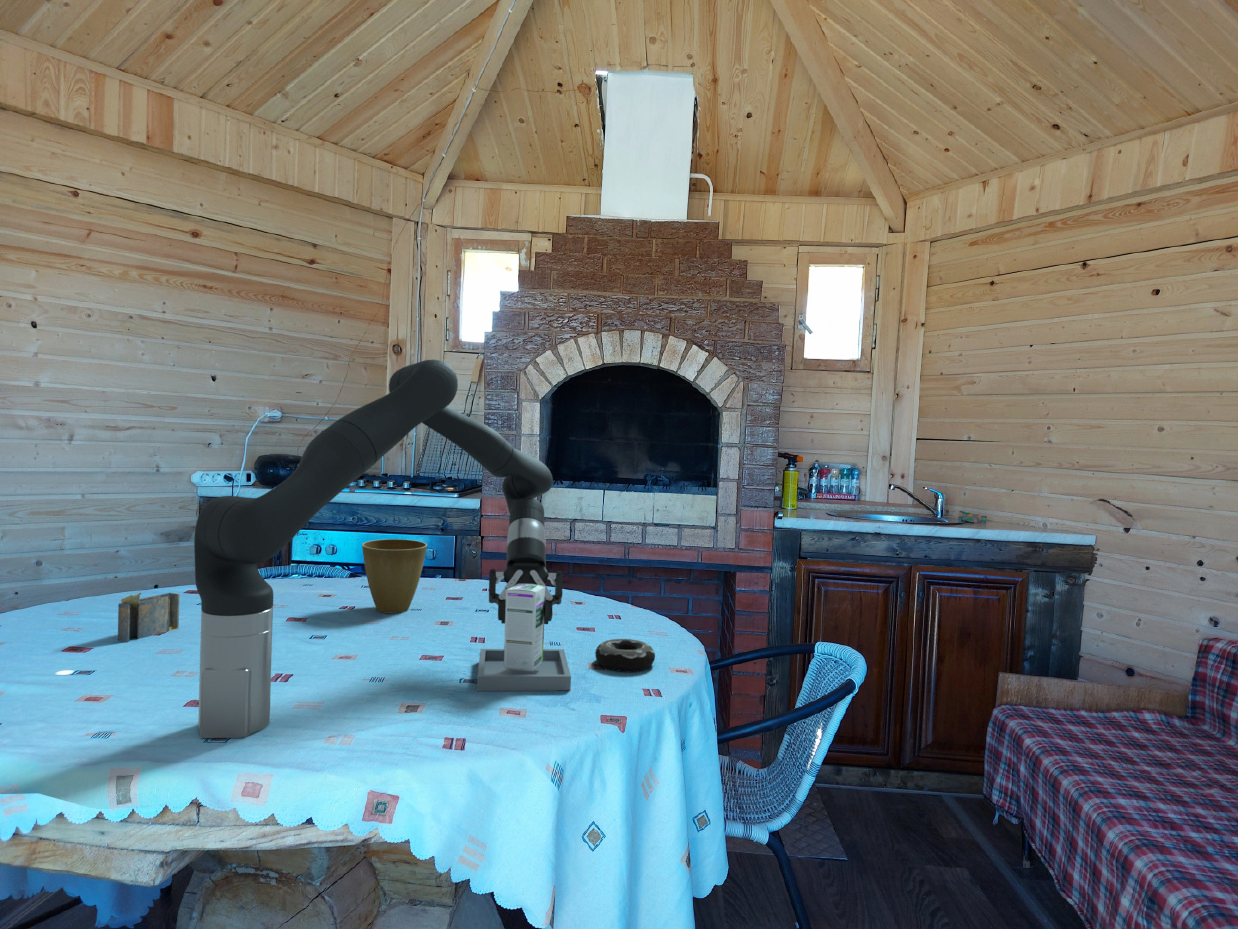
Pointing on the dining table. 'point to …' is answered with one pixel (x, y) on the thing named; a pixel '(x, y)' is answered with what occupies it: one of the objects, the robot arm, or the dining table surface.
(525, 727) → the dining table surface
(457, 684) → the dining table surface
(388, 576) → the plant pot
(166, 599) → the weathered flanged block
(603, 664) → the donut
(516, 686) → the tray
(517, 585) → the syrup box
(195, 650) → the dining table surface
